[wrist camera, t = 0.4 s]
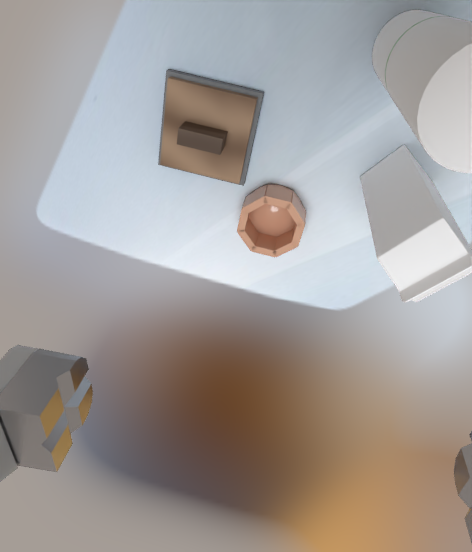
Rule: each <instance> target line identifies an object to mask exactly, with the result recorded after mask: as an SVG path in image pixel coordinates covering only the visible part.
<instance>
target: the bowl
mask: <svg viewBox="0 0 472 552" xmlns="http://www.w3.org/2000/svg"><path fill="white" fill-rule="evenodd" d="M305 217H306V210H305V209H304V207H303V206H302V203H301V201H300V199H299V197H298V196H297V195H296V194H295V193H294V191H293V190H290V189H289V188H287V187H285V186H282V185H277V184H270V185H269V184H268V185H265V186H262V187H259V188H258V189H256V190H255V191H253V192H252V193H251V194H249V195H248V196H246V198H245V201H244V204H243V207H242V210H241V215H240V219H239V224H238V229H237V232H238V234H239V235H240V237H241V238H242V239H243V241H244V242H245V244H246V245H247V246H248V248H249V249H250V251H251V250H252V252H256V253H260V254H264V255H268V256H272V257H275V256H276V257H277V256H280V255H282V254H284V253H286V252H288V251H290V250H292V249H294V248H296V247H297V246H298V245H299V242H300V239H301V236H302V233H303V229H304V226H305Z"/></svg>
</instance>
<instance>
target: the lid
mask: <svg viewBox="0 0 472 552" xmlns="http://www.w3.org/2000/svg"><path fill="white" fill-rule="evenodd" d="M257 99H258V97H254V96H250V95H246V94H241V93H237V92H233V91H229V90H225V89H221V88H217V87H212V86H208V85H204V84H200V83H196V82H192V81H188V80H183V79H179V78H175V77H171V76H170V77H168V80H167V92H166V103H165V114H164V126H163V137H162V149H161V160H160V165H164V166H168V167H172V168H176V169H180V170H184V171H188V172H192V173H196V174H200V175H204V176H208V177H212V178H217V179H221V180H225V181H229V182H233V183H237V184H239V183H240V180H241V175H242V171H243V166H244V161H245V156H246V151H247V147H248V142H249V137H250V132H251V127H252V123H253V118H254V113H255V108H256V103H257Z"/></svg>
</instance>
